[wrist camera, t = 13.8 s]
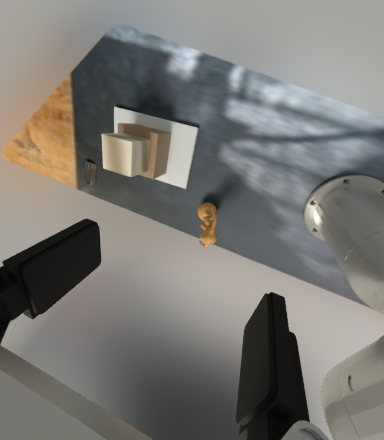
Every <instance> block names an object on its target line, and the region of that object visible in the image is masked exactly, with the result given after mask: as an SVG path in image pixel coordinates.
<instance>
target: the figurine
mask: <svg viewBox="0 0 384 440" xmlns="http://www.w3.org/2000/svg"><path fill="white" fill-rule="evenodd" d="M216 214H217V210H216V207H215V206H214V205H213V204H212V203H209V202H206V203H203V204H201V205H200V207H199V208H198V215H199V217H200V218H201V219H202V220H204V221H205V223H204V224H202V225H201V227H202V228H203V230H204V233H203V234H201V235H200V239H201V240H203V241H205V242H206V244H203V243H202V242H201V241H200V243H201V245H202V246H204V248H207V247H208V245H209V244H210V243H215V242H216V240H217V234H216V233H215V227H216V224H217V217H216ZM213 219H214V222H212V221H211V220H213Z"/></svg>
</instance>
